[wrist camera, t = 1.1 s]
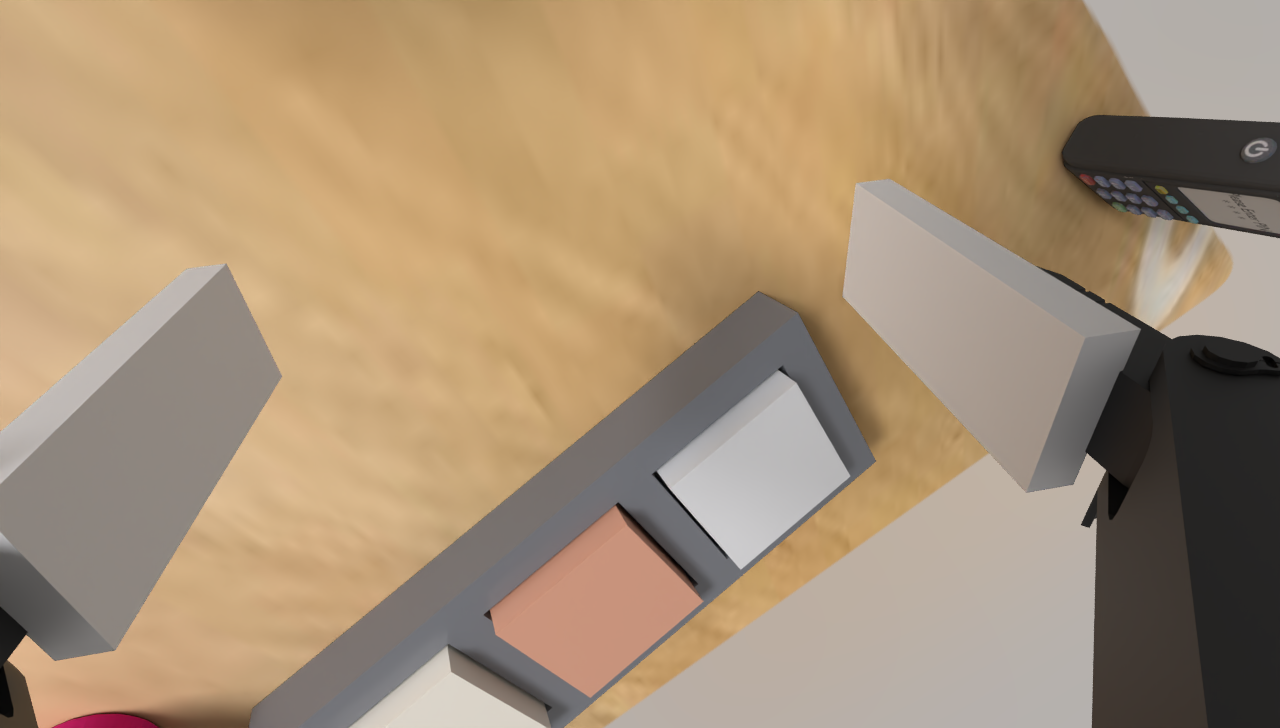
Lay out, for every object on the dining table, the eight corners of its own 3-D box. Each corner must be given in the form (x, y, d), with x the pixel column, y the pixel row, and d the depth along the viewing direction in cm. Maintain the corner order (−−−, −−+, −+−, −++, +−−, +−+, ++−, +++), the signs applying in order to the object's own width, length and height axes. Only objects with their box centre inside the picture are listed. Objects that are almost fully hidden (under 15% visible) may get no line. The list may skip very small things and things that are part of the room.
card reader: (1046, 164, 42) (1339, 201, 29) (1080, 106, 41) (1398, 119, 28) (1107, 215, 46) (1385, 266, 34) (1139, 164, 45) (1436, 197, 33)
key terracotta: (486, 594, 35) (495, 634, 32) (608, 493, 35) (626, 525, 33) (576, 658, 40) (590, 697, 37) (682, 568, 40) (703, 601, 38)
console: (252, 708, 35) (239, 775, 32) (758, 291, 37) (797, 312, 33) (424, 781, 43) (429, 841, 39) (837, 432, 44) (876, 461, 41)
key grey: (648, 459, 36) (669, 488, 33) (766, 361, 36) (796, 383, 33) (717, 539, 40) (740, 569, 38) (820, 451, 41) (850, 476, 38)
